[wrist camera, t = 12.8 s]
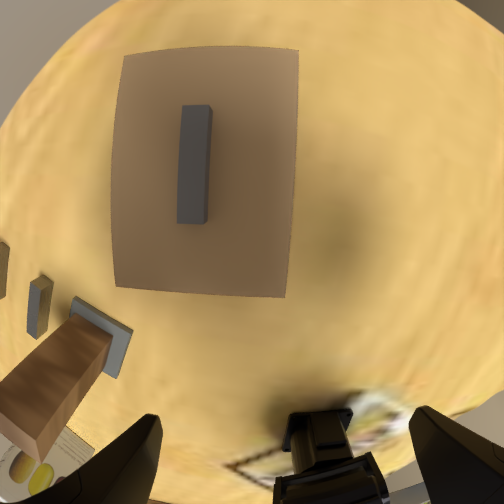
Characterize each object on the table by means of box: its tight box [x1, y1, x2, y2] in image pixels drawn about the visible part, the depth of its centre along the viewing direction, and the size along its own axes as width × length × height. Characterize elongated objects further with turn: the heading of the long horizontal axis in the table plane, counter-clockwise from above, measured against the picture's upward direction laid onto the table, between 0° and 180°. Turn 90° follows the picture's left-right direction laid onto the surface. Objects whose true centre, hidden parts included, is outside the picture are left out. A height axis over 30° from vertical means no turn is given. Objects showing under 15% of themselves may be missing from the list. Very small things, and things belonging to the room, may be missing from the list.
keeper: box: [0, 242, 54, 340], centre depth 19 cm, size 8×6×2 cm
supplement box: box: [0, 426, 95, 503], centre depth 18 cm, size 10×9×17 cm
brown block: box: [0, 313, 113, 464], centre depth 15 cm, size 4×4×12 cm
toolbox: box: [111, 46, 299, 298], centre depth 14 cm, size 11×8×9 cm
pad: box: [69, 296, 133, 379], centre depth 21 cm, size 6×6×1 cm
